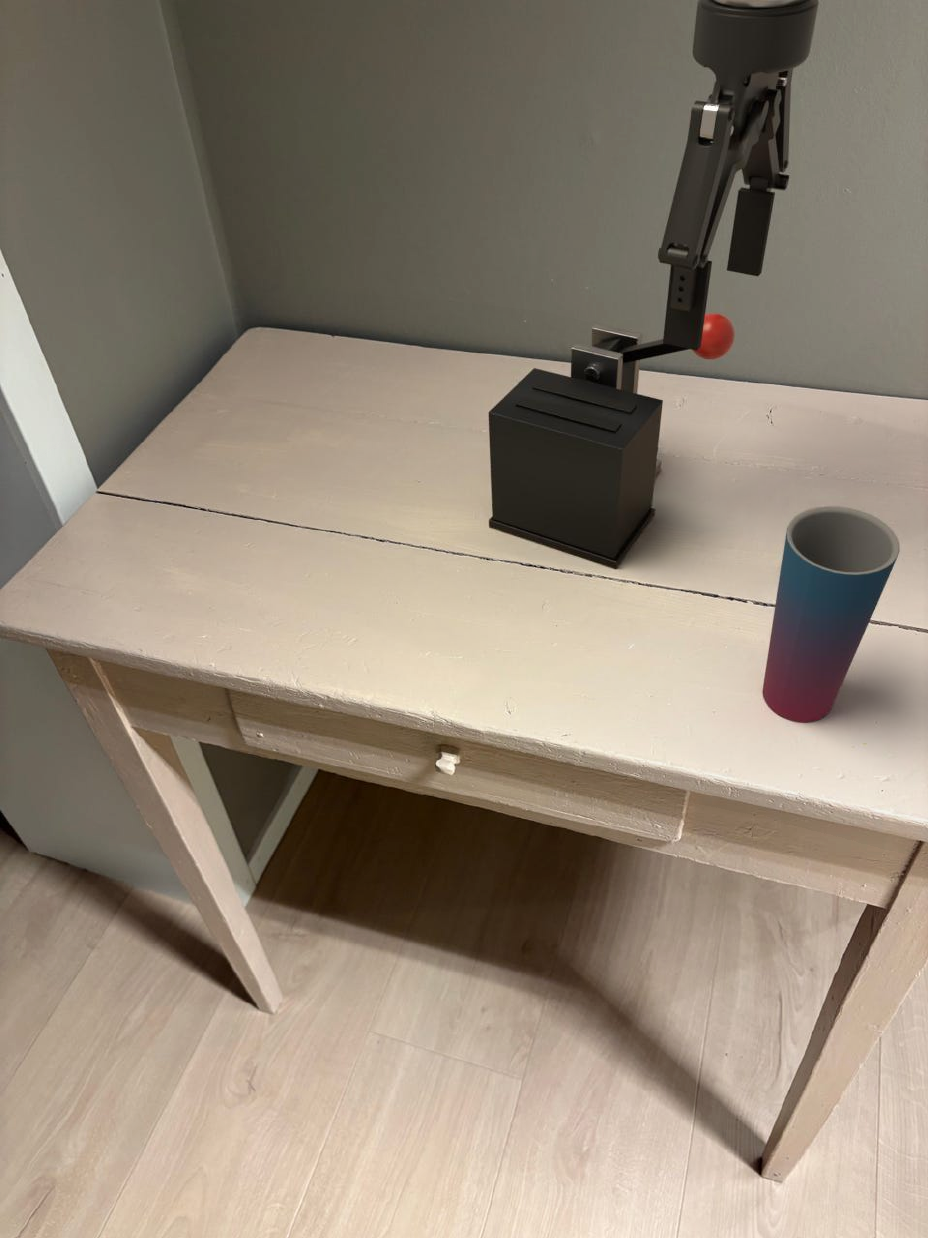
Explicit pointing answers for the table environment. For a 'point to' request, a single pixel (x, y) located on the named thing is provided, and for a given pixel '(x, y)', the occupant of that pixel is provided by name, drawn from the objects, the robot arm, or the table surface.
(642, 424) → the toaster
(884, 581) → the cup
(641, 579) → the table surface
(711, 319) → the lever
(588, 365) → the bracket
